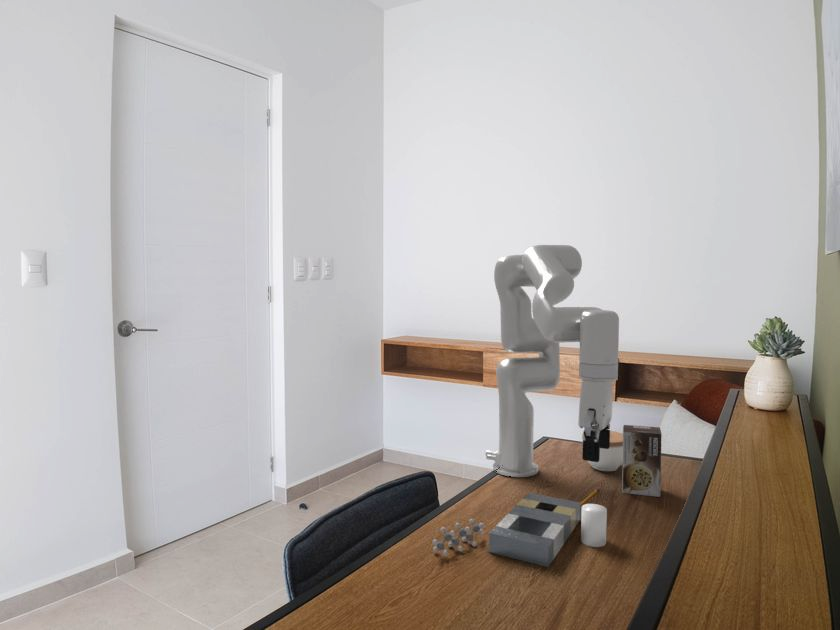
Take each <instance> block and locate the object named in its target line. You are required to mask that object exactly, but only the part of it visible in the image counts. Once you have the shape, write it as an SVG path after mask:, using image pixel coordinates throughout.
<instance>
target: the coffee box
mask: <svg viewBox="0 0 840 630" xmlns="http://www.w3.org/2000/svg"><path fill="white" fill-rule="evenodd" d="M622 428H623V429H622V434H623V464H622V473H621V474H622V477H621V478H622V481H621V483H622V484H621V487H622V488H621V493H622V494H628V495H629V494H630V495H638V496H647V497H658V498H660V497H661V490H662V489H661V482H662V480H661V479H662V477H661V476H662V474H661V473H662V471H661V470H662V435H663V434H662V431H661V427H659V426H645V425H643V426H642V425H630V424H623V427H622Z"/></svg>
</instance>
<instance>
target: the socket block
mask: <svg viewBox="0 0 840 630" xmlns="http://www.w3.org/2000/svg"><path fill="white" fill-rule="evenodd" d="M580 503H581V501H575V500H568V499H564V498H557V497H553V496H548V495H542V494H538V493H533V492H528V493H526V495H525V496H524V497H523V498H522V499H521V500H520V501H519V502H518V503H517V504H516V505H515V506H514V507H513V508H512V509H511V510H510V511H509V512H508V513H507V514H506V515H505V516H504V517H503V518H502V519H501V520H500V521H499V522H498V523H497V524H496V525H495V526H494V527H493V528H492V529H491V530H490V532H489V533H488V534H489V535H488V553H491V554H495V555H498V556H503V557H507V558H510V559H515V560H518V561H523V562H526V563H530V564H535V565H537V566H542V567H545V568H549V566H550V565H551V563H552V562H553V560H555V558H556V556H557V555H558V553H559V552H560V550H561V549H562V547H563V546H564V544H565V543H566V541H567V540H568V539H569V537H570V536H571V534H572V533H573V531H574V530H575V529H576V527H577V525H578V524H579V522H581V506H580Z"/></svg>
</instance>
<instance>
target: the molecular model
mask: <svg viewBox="0 0 840 630" xmlns="http://www.w3.org/2000/svg"><path fill="white" fill-rule="evenodd" d="M468 523H469V524H470V525H472V531H471V532H470V530H471V529H470V527H469V526H466V527H465V528H464V527H463V528H462V527H461V524H460V522H456V523H455V525H454V526H455V529H458V536H457V537H455V535H456V532H455V531H454V530H453V529H452V530H450V531H449V532H448V531H447V532H446V530H447V529H446V527H444V526H442V527H440V532H441V533H444V534H443V539H444V540H443V541H438V540H437V539H436V538H435V539H432V545H433V546H434V547H433V548H432V550H433V552H434V553H437V552H438V551H442V556H445V557H446V556H448V554H449V552H448V550H447V549H445V543H446V542H448V543H447V546H448V547H449V548H452V547H455V546H457V550H458V552H462V551H463V549H464V548H463V546H462V545H459V544H460V537H462V538H461V541H462V543H466V542H467V541H468V542H471V546H472V547H473V548H475V547H477V542H476V541H474V540H473V538H474V535H473V534H474V533H478V534H479V535H483V534H484V530H483V528H484V526H485V524H484V523H483V522H480V523H479V524H476V523H475V519H473V518H470V519H469V521H468Z"/></svg>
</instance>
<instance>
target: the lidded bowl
mask: <svg viewBox="0 0 840 630" xmlns="http://www.w3.org/2000/svg"><path fill="white" fill-rule="evenodd" d="M607 430H609V429H607ZM581 439H582V440H583V433H581ZM587 463H589V464H590V465H591V468H593V470H597V471H601V472H614V471H617V470H619V469H618V468H619V467H621V466H623V432H619V431H613V430H610V447H609V449H604V448H600V457H599V462H592V461H587Z"/></svg>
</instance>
